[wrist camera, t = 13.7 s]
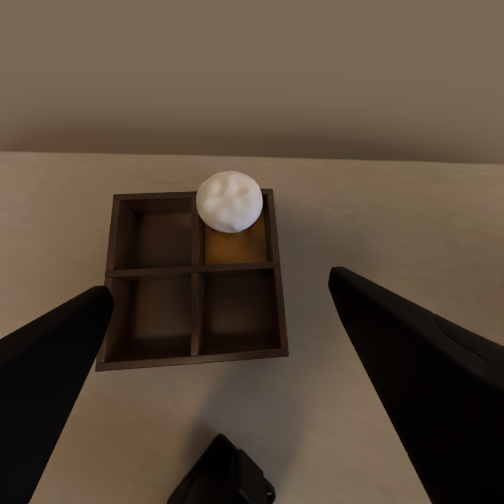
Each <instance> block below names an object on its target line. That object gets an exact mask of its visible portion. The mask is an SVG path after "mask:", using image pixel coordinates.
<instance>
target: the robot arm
mask: <svg viewBox="0 0 504 504" xmlns="http://www.w3.org/2000/svg"><path fill="white" fill-rule="evenodd" d="M328 287H329V290H330V293H331V296H332V298H333V301H334V304H335V307H336V309H337V312H338V315H339V317H340V320H341V322H342V324H343V326H344V328H345V330H346V332H347V334H348V336H349V338H350V340H351V342H352V344H353V346H354V348H355V350H356V352H357V354H358V356H359V358H360V360H361V362H362V364H363V366H364V368H365V370H366V372H367V374H368V376H369V378H370V380H371V382H372V384H373V386H374V388H375V390H376V392H377V394H378V396H379V398H380V400H381V402H382V404H383V406H384V408H385V410H386V412H387V414H388V416H389V418H390V420H391V422H392V424H393V426H394V428H395V430H396V432H397V434H398V436H399V438H400V440H401V442H402V444H403V446H404V448H405V450H406V452H407V453H408V457H409V459H410V461H411V463H412V465H413V467H414V469H415V471H416V473H417V475H418V477H419V479H420V481H421V483H422V485H423V487H424V489H425V491H426V493H427V495H428V497H429V499H430V501H431V503H432V504H504V346H501V345H499V344H497V343H495V342H493V341H490V340H488V339H486V338H484V337H482V336H480V335H477V334H475V333H473V332H471V331H469V330H467V329H465V328H463V327H461V326H459V325H456V324H454V323H452V322H450V321H448V320H446V319H444V318H443V317H441V316H439V315H437V314H433V313H432V312H431V311H429V310H427V309H425V308H423V307H421V306H419V305H417V304H415V303H413V302H411V301H409V300H407V299H405V298H403V297H401V296H399V295H397V294H395V293H393V292H391V291H389V290H387V289H386V288H384V287H382V286H380V285H378V284H376V283H374V282H372V281H370V280H368V279H366V278H364V277H362V276H360V275H358V274H356V273H354V272H352V271H350V270H348V269H346V268H344V267H342V266H339V267H332V268H331V271H330V276H329V281H328ZM114 307H115V301H114V299H113V297H112V295H111V293H110V291H109V289H108V287H107V286H94V287H92V288H90V289H88V290H86V291H85V292H83V293H81V294H79V295H78V296H76V297H74V298H72V299H70V300H69V301H67V302H65V303H63V304H62V305H60V306H58V307H56V308H55V309H53V310H51V311H49V312H47V313H46V314H44V315H42V316H40V317H39V318H37V319H35V320H33V321H32V322H30V323H28V324H26V325H24V326H23V327H21V328H19V329H17V330H16V331H14V332H12V333H10V334H9V335H7V336H5V337H3V338H2V339H0V504H28V503H29V502H30V500H31V498H32V495H33V493H34V491H35V489H36V487H37V485H38V482H39V480H40V478H41V476H42V474H43V472H44V469H45V467H46V465H47V463H48V461H49V458H50V456H51V454H52V452H53V450H54V448H55V445H56V443H57V441H58V439H59V437H60V434H61V432H62V430H63V428H64V426H65V424H66V421H67V419H68V417H69V415H70V413H71V411H72V408H73V406H74V404H75V402H76V400H77V397H78V395H79V393H80V391H81V389H82V387H83V384H84V382H85V380H86V378H87V376H88V373H89V371H90V369H91V367H92V365H93V363H94V360H95V358H96V356H97V354H98V352H99V350H100V347H101V345H102V342H103V340H104V337H105V334H106V331H107V328H108V325H109V322H110V319H111V316H112V313H113V310H114ZM219 440H221V441H222V442H223V443H222V444H218V441H219ZM268 492H271V493H272V494H271V495H267V493H268ZM275 496H276V494H275V489H274V487H273V486H272V485H271V484H270V482H269V481H268V480H267V479H266V478H265V477H264V475H263V471H262V470H261V469H260V468H259V467H258V466H257V465H256V464H255V463H254V462H253V461H252V459H251V458H250V457H249V456H248V455H247V454H246V453H245V452H244V451H243V450H242V449H237V448H236V447H235V446H234V445H233V444H232V443H231V442H230V441H229V440H228V439H227V438H226V437H225V436H224V435H223V434H219V435H217V436H216V438H215V439H214V440H213V441H212V443H211V444H210V445H209V447H208V448H207V449H206V451H205V452H204V453H203V454H202V456H201V457H200V458H199V460H198V461H197V462H196V464H195V465H194V466H193V467H192V469H191V470H190V471H189V473H188V474H187V475H186V477H185V478H184V479H183V480H182V482H181V483H180V484H179V486H178V487H177V488H176V490H175V491H174V492H173V494H172V495H171V496H170V497H169V499H168V501H167V504H171V503H173V504H272V503H273V502H274V500H275Z"/></svg>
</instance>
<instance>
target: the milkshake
mask: <svg viewBox="0 0 504 504" xmlns="http://www.w3.org/2000/svg"><path fill="white" fill-rule="evenodd" d="M196 206H197V211H198V214H199V216H200V217H201V219H202V220H203V221H204V222H205V223H206V225H207V226H208V227H209V228H210V230H211V231H212V232H213V234H214V235H215V237H216V238H217V240H218V241H219V243H220V244H221V245H222V246H223V247H224V248H225V249H226V250H227V251H234V252H238V251H240V250H242V249H244V248H246V246H247V244H248V242H249V240H250V238H251V235H252V232H253V229H254V226H255V224H256V222H257V220H258V217H259V215H260V213H261V210H262V206H263V200H262V194H261V190H260V188H259V186H258V184H257V183H256V182H255V180H254V179H253V178H251V177H249V176H247V175H245V174H242V173H240V172H237V171H224V172H219V173H216V174H214V175H212V176H211V177H209V178H208V179H207V180H205V181H204V182H203V183H202V184H201V186H200V187H199V189H198V191H197V195H196Z"/></svg>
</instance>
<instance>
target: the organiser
mask: <svg viewBox="0 0 504 504" xmlns="http://www.w3.org/2000/svg"><path fill="white" fill-rule="evenodd" d="M260 190H261V194H262V200H263V206H262V210H261V213H260V215H259V217H258V220H257V222H256V224H255V226H254V229H253V232H252V235H251V238H250V240H249V242H248V244H247V246H246V248H244V249H242V250H240V251H238V252H234V251H227V250H226V249H225V248H224V247H223V246H222V245H221V244H220V243H219V241H218V240H217V238H216V237H215V235H214V234H213V232H212V231H211V230H210V228H209V227H208V226H207V225H206V223H205V222H204V221H203V220H202V219H201V217H200V216H199V214H198V211H197V206H196V195H197V191H195V192H168V193H141V194H114V196H113V206H112V215H111V225H110V234H109V244H108V253H107V263H106V272H105V282H104V286H107V287H108V289H109V291H110V293H111V295H112V297H113V299H114V301H115V307H114V310H113V313H112V316H111V319H110V322H109V325H108V328H107V331H106V334H105V337H104V340H103V342H102V345H101V347H100V350H99V352H98V354H97V358H96V367H95V372H99V371H111V370H124V369H136V368H149V367H161V366H174V365H186V364H199V363H211V362H224V361H236V360H249V359H262V358H274V357H287V356H289V349H288V339H287V329H286V319H285V309H284V298H283V288H282V278H281V268H280V258H279V247H278V237H277V227H276V217H275V206H274V196H273V189H260Z"/></svg>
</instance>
